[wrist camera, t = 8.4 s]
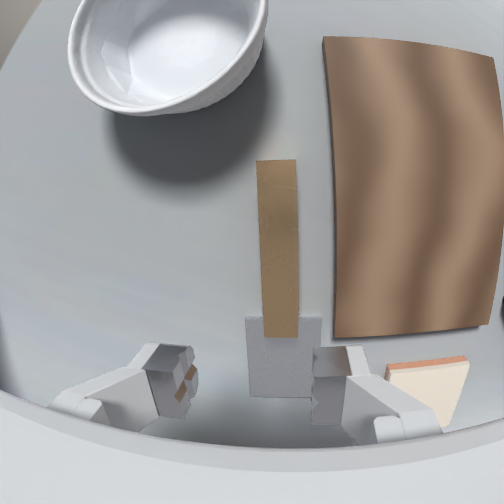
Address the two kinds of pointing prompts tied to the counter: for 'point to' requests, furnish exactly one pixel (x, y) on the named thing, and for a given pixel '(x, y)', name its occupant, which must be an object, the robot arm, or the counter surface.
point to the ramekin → (164, 52)
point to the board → (413, 185)
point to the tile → (432, 383)
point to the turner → (280, 293)
